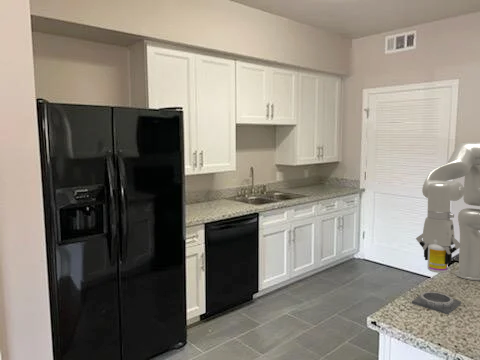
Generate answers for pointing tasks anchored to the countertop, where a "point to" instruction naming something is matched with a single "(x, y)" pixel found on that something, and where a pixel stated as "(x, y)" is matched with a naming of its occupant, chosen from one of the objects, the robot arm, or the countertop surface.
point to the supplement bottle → (436, 258)
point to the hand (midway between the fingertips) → (437, 261)
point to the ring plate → (444, 310)
